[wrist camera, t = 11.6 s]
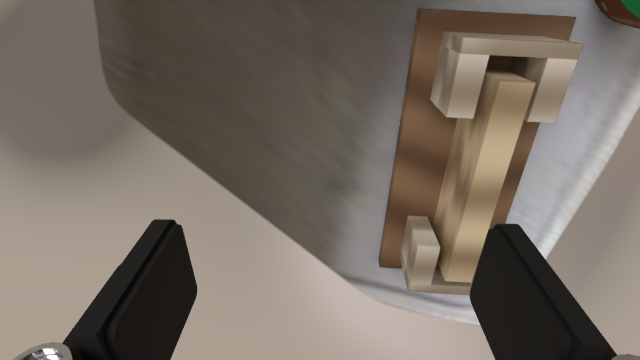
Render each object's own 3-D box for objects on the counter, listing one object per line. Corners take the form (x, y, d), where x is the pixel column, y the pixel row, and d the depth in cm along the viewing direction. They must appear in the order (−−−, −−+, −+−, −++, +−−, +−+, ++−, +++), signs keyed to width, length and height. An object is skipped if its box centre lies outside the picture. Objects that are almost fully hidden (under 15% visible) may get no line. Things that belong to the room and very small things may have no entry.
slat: (469, 65, 29) (500, 81, 24) (498, 67, 29) (535, 83, 24) (429, 240, 38) (445, 281, 32) (451, 242, 38) (471, 282, 32)
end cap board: (418, 8, 29) (438, 11, 23) (567, 16, 28) (623, 21, 23) (378, 259, 41) (385, 301, 35) (483, 266, 40) (507, 308, 35)
